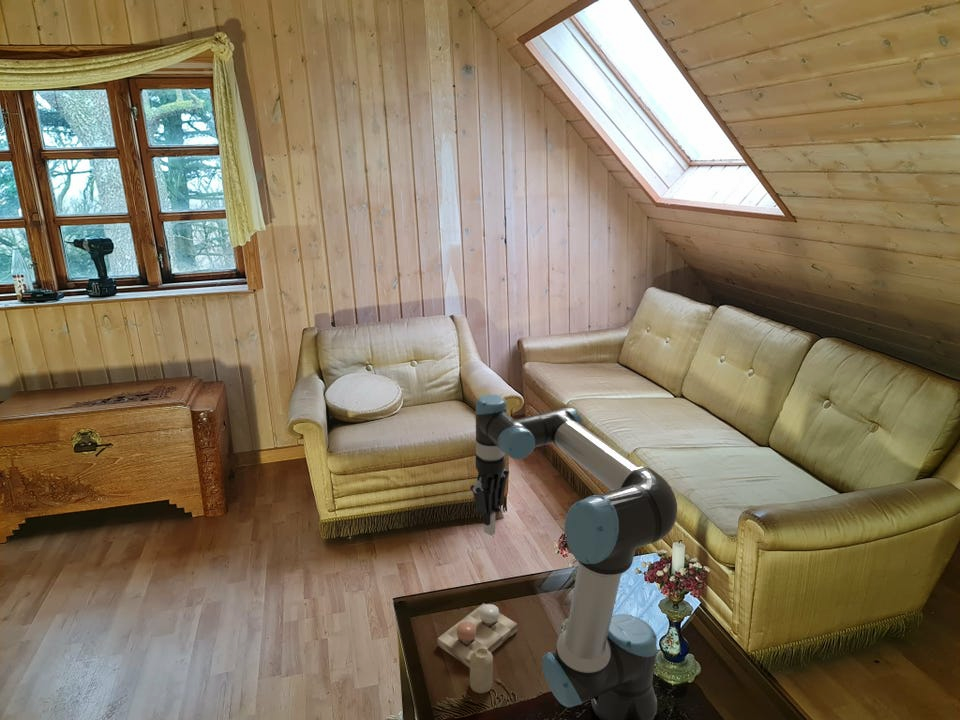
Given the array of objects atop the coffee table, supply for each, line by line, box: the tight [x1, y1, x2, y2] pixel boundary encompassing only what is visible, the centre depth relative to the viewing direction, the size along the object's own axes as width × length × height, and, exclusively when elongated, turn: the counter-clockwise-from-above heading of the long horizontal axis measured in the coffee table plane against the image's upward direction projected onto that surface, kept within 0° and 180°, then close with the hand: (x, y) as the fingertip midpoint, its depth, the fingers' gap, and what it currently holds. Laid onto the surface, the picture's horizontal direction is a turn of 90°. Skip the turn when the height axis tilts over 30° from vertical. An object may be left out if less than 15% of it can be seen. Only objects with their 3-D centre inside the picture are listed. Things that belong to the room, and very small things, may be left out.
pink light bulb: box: [457, 622, 476, 647], centre depth 184 cm, size 5×5×5 cm
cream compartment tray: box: [437, 602, 518, 669], centre depth 188 cm, size 12×18×2 cm, turn 138°
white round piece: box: [480, 603, 500, 628], centre depth 190 cm, size 5×5×5 cm
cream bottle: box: [469, 648, 494, 694], centre depth 172 cm, size 6×6×10 cm
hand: (489, 532), depth 189 cm, fingers closed
